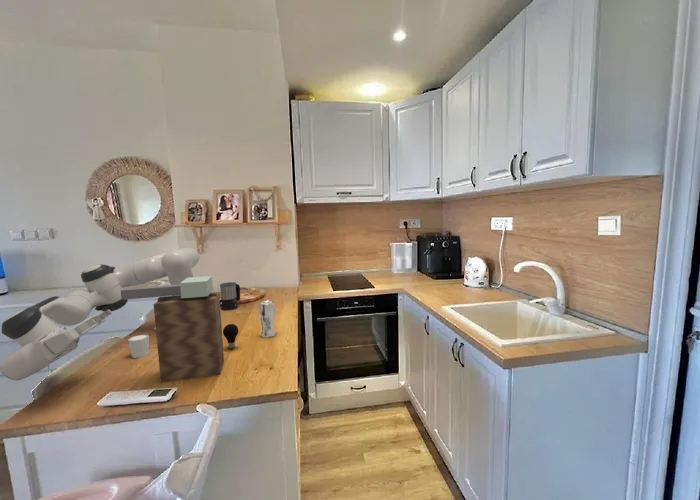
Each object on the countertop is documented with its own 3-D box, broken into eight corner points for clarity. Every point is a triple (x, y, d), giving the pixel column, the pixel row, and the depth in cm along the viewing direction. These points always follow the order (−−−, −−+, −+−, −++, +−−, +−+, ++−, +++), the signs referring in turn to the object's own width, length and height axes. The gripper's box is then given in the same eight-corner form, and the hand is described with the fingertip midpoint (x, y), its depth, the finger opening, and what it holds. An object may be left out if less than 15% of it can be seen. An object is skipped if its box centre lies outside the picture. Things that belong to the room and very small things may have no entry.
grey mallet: (116, 303, 97) (114, 287, 97) (130, 296, 107) (128, 281, 106) (208, 296, 104) (206, 281, 103) (212, 289, 113) (211, 275, 113)
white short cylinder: (136, 351, 128) (134, 334, 127) (154, 350, 128) (152, 333, 128) (125, 359, 121) (123, 341, 120) (144, 357, 122) (142, 340, 121)
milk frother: (234, 310, 183) (232, 285, 181) (207, 311, 183) (205, 285, 181) (242, 303, 197) (241, 280, 195) (217, 304, 197) (216, 280, 196)
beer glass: (272, 338, 138) (270, 305, 136) (257, 337, 139) (255, 304, 137) (278, 332, 144) (277, 300, 143) (264, 332, 146) (262, 300, 144)
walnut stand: (160, 382, 102) (153, 301, 100) (169, 368, 112) (163, 294, 109) (220, 374, 107) (214, 296, 104) (224, 361, 117) (218, 290, 114)
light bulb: (230, 352, 125) (228, 327, 124) (221, 349, 128) (219, 325, 127) (242, 346, 129) (241, 323, 128) (233, 344, 133) (231, 321, 132)
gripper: (85, 337, 109) (123, 314, 112) (46, 363, 90) (93, 334, 92) (72, 323, 108) (111, 300, 110) (29, 346, 88) (78, 317, 91)
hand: (102, 315), depth 101 cm, fingers open, 8 cm apart
